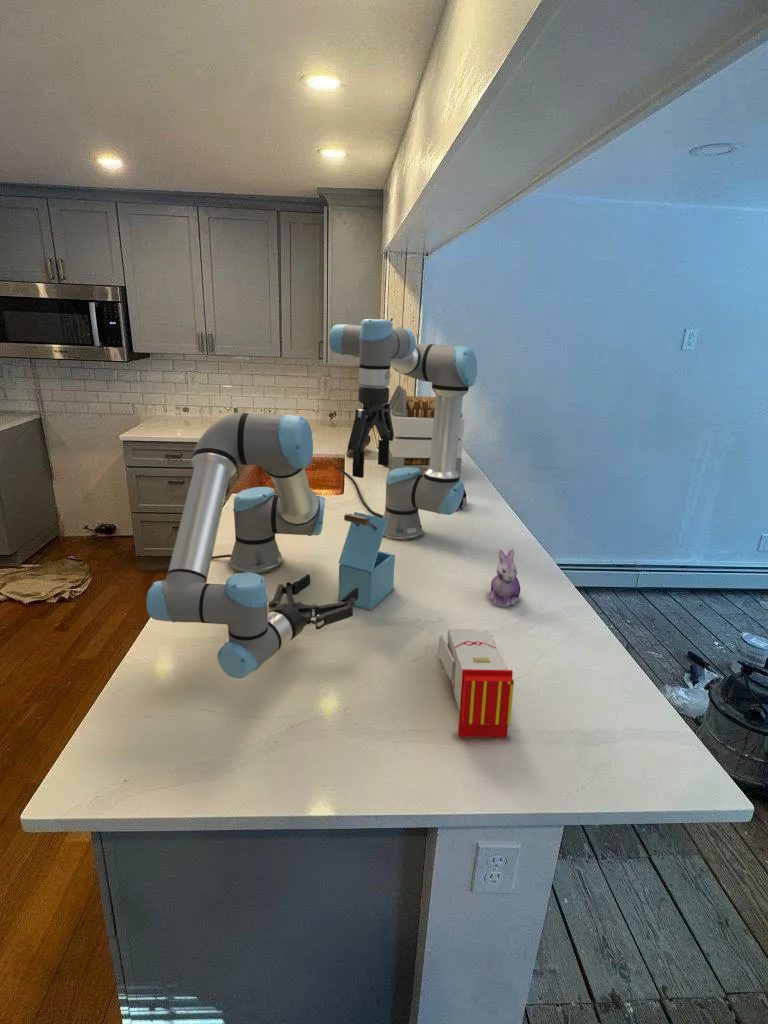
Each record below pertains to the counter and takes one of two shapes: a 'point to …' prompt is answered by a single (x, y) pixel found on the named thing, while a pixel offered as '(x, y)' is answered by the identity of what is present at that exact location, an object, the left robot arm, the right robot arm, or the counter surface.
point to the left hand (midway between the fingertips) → (332, 586)
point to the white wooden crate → (414, 431)
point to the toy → (478, 682)
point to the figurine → (505, 581)
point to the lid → (362, 540)
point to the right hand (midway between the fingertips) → (371, 470)
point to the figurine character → (463, 501)
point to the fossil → (350, 453)
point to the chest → (368, 581)
